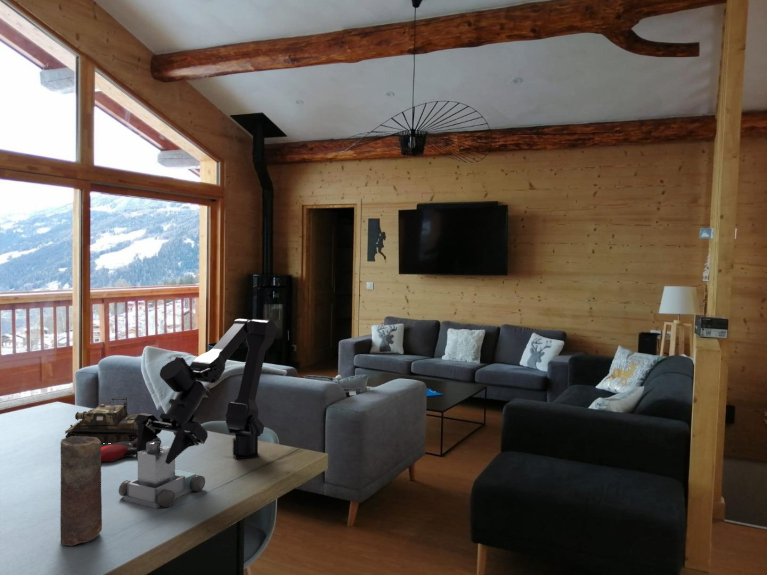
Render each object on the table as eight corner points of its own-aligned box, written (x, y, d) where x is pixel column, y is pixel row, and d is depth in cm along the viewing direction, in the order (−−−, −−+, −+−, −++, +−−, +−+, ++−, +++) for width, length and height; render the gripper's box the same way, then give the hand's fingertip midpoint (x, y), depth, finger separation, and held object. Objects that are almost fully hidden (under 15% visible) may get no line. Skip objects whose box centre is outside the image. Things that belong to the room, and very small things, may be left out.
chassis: (164, 478, 149) (164, 463, 149) (206, 488, 143) (206, 471, 143) (117, 498, 136) (117, 481, 136) (162, 510, 130) (162, 492, 130)
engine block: (157, 485, 142) (157, 436, 141) (175, 489, 139) (175, 439, 139) (137, 494, 136) (137, 443, 136) (155, 499, 134) (155, 447, 133)
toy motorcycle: (64, 460, 165) (63, 469, 151) (65, 441, 166) (64, 449, 152) (159, 450, 177) (166, 458, 163) (159, 433, 177) (166, 439, 163)
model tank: (80, 433, 186) (79, 386, 186) (153, 432, 189) (153, 386, 189) (63, 446, 173) (63, 396, 173) (142, 444, 177) (142, 395, 176)
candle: (71, 529, 120) (70, 433, 119) (108, 529, 121) (107, 433, 120) (53, 548, 113) (52, 445, 112) (93, 547, 113) (92, 444, 112)
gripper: (231, 424, 147) (200, 483, 138) (174, 415, 155) (141, 470, 145) (209, 400, 140) (175, 460, 130) (151, 391, 147) (114, 447, 138)
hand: (151, 460), depth 136 cm, fingers open, 9 cm apart
